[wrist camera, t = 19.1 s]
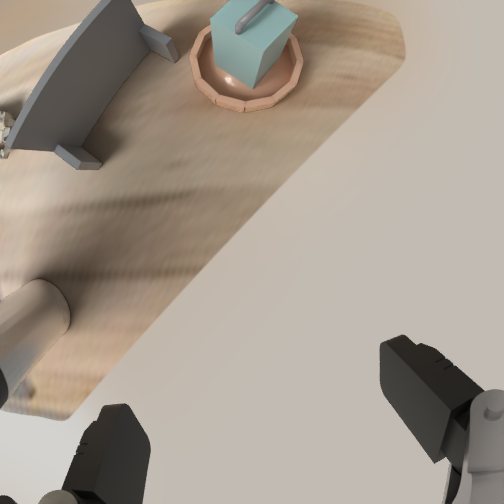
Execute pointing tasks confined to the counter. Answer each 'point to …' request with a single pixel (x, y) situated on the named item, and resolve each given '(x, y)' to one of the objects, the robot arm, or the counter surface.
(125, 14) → the screen
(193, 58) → the dish
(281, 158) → the counter surface
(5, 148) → the miniature stone ruin
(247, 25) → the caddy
